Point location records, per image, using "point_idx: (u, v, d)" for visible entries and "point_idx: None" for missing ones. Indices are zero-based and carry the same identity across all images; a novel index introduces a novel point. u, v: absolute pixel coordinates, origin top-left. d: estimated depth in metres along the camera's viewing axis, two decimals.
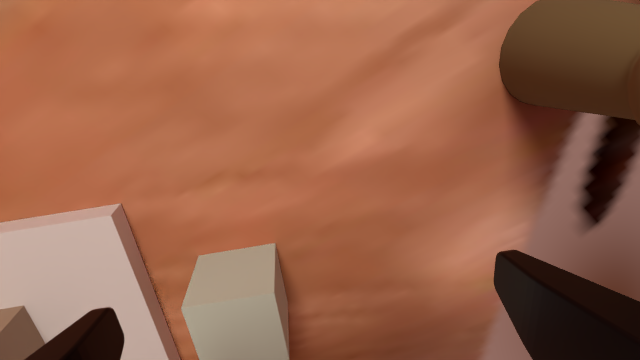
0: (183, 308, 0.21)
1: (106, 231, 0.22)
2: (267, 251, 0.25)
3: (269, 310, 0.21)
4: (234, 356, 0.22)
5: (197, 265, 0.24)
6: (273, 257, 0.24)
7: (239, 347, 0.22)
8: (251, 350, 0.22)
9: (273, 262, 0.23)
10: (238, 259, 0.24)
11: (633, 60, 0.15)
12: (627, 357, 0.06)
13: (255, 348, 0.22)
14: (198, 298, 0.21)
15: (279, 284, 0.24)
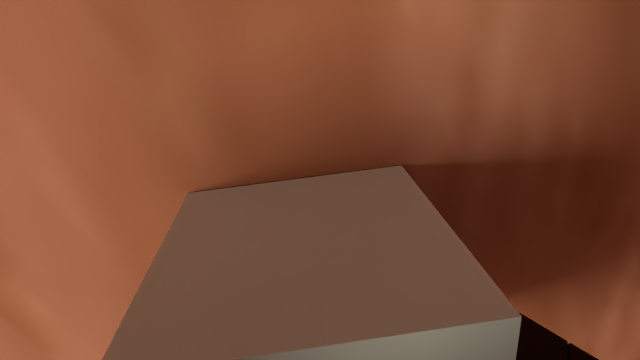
0: None
1: None
2: None
3: None
4: None
5: None
6: (169, 234, 0.07)
7: None
8: None
9: (161, 249, 0.07)
10: None
11: None
12: None
13: None
14: None
15: (250, 235, 0.07)
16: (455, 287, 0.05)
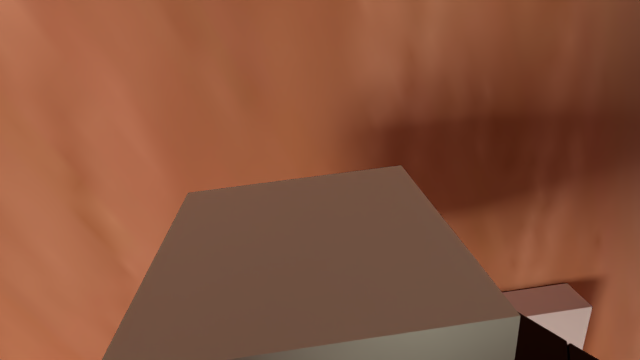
0: None
1: None
2: None
3: None
4: None
5: None
6: (169, 234, 0.07)
7: None
8: None
9: (161, 249, 0.07)
10: None
11: None
12: None
13: None
14: None
15: (250, 235, 0.07)
16: (454, 286, 0.05)
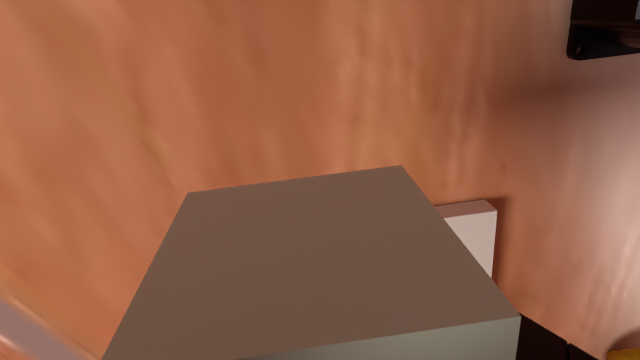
0: None
1: None
2: None
3: None
4: None
5: None
6: (169, 234, 0.07)
7: None
8: None
9: (160, 249, 0.07)
10: None
11: None
12: None
13: None
14: None
15: (250, 235, 0.07)
16: (455, 287, 0.05)
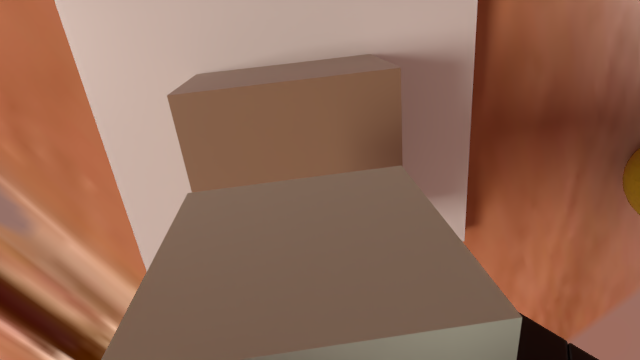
0: None
1: None
2: None
3: None
4: None
5: None
6: (168, 234, 0.07)
7: None
8: None
9: (160, 249, 0.07)
10: None
11: None
12: None
13: None
14: None
15: (250, 235, 0.07)
16: (455, 288, 0.05)
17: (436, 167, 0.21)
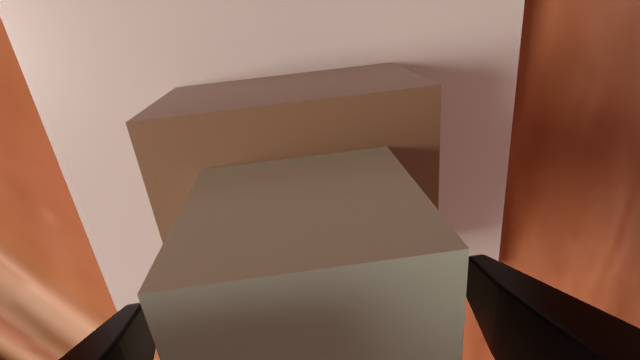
0: None
1: None
2: None
3: (220, 308, 0.06)
4: None
5: None
6: None
7: None
8: (393, 356, 0.07)
9: None
10: None
11: None
12: None
13: (388, 344, 0.07)
14: None
15: (256, 199, 0.08)
16: (421, 231, 0.07)
17: (466, 197, 0.17)
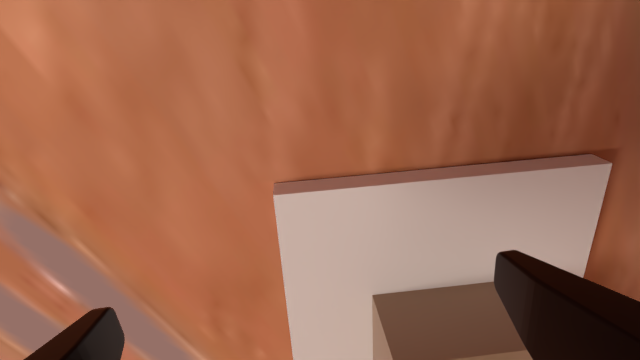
0: None
1: (293, 203, 0.20)
2: None
3: None
4: None
5: None
6: None
7: None
8: None
9: None
10: None
11: None
12: (627, 357, 0.06)
13: None
14: None
15: None
16: None
17: None
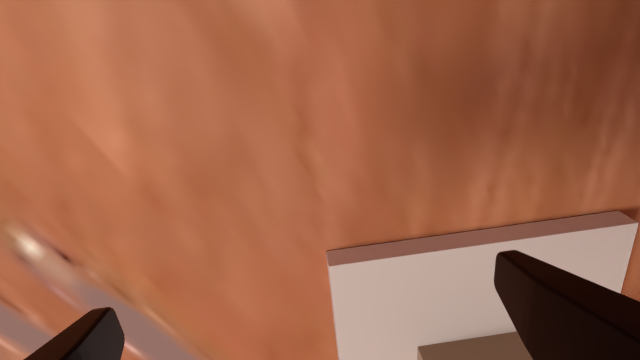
0: None
1: (346, 272, 0.22)
2: None
3: None
4: None
5: None
6: None
7: None
8: None
9: None
10: None
11: None
12: (627, 357, 0.06)
13: None
14: None
15: None
16: None
17: None
